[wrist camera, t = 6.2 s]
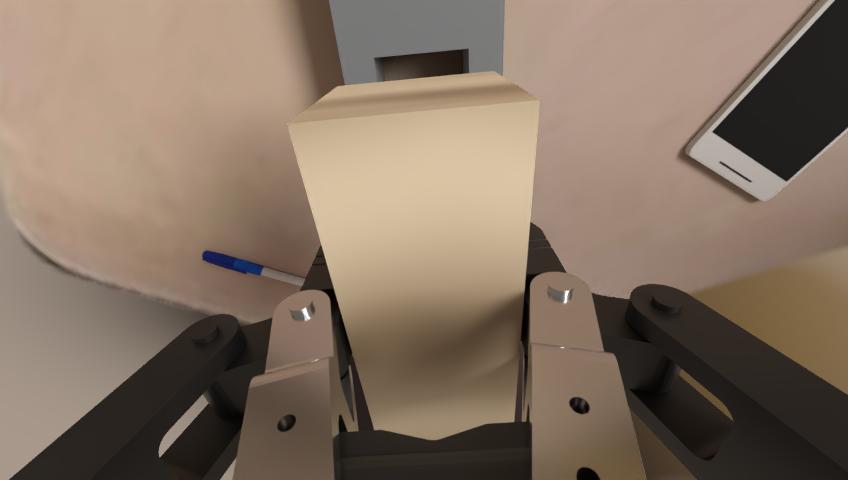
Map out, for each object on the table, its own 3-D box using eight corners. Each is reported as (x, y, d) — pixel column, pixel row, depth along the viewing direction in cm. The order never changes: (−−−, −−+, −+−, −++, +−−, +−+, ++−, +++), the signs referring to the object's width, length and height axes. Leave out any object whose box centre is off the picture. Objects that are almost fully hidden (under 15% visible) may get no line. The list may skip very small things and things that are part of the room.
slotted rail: (319, -135, 14) (296, -169, 12) (494, -157, 14) (510, -197, 12) (394, 303, 27) (391, 332, 24) (488, 297, 27) (495, 326, 24)
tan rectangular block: (356, 72, 12) (286, 123, 6) (477, 60, 11) (540, 100, 5) (395, 301, 17) (381, 454, 11) (479, 295, 17) (511, 447, 11)
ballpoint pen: (205, 257, 25) (198, 265, 24) (206, 247, 25) (198, 255, 24) (349, 294, 27) (346, 304, 26) (352, 286, 26) (349, 295, 26)
